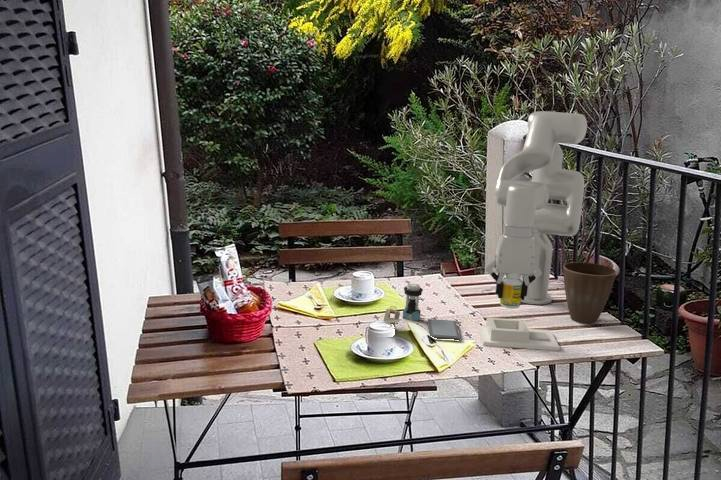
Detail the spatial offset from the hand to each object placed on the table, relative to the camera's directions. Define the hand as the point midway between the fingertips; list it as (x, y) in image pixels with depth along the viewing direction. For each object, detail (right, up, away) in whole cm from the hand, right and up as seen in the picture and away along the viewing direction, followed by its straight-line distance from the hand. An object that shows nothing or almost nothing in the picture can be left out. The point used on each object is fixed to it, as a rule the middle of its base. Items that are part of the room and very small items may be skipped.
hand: (510, 297), depth 197 cm
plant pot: (+26, -9, +23) cm, 36 cm away
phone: (-18, -10, +5) cm, 21 cm away
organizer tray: (+2, -12, +3) cm, 12 cm away
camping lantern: (-25, -8, +14) cm, 30 cm away
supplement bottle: (0, -3, +1) cm, 3 cm away
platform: (-32, -10, +3) cm, 34 cm away
